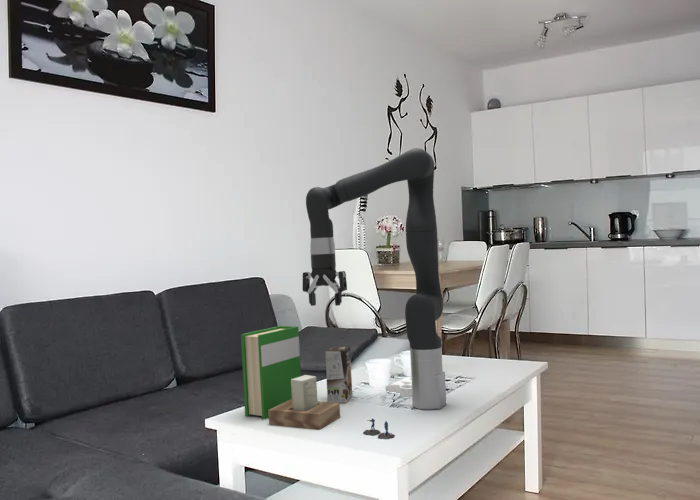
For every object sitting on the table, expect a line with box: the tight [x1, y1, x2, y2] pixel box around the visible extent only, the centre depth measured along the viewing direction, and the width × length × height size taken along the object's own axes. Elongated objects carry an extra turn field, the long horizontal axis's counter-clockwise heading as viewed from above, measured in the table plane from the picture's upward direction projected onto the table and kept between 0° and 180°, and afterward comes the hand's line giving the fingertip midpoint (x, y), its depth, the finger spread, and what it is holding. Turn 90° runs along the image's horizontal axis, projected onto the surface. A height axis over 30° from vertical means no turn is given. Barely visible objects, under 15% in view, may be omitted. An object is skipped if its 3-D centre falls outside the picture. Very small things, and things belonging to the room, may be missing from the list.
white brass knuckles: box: [385, 376, 412, 397], centre depth 203 cm, size 3×18×15 cm
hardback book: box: [240, 325, 302, 420], centre depth 187 cm, size 18×7×24 cm, turn 147°
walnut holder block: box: [268, 399, 341, 430], centre depth 174 cm, size 16×12×4 cm
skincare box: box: [291, 374, 318, 411], centre depth 174 cm, size 6×4×12 cm
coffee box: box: [325, 345, 353, 404], centre depth 196 cm, size 9×6×16 cm
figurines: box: [362, 417, 396, 440], centre depth 159 cm, size 10×5×4 cm, turn 44°
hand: (325, 305), depth 192 cm, fingers open, 8 cm apart
